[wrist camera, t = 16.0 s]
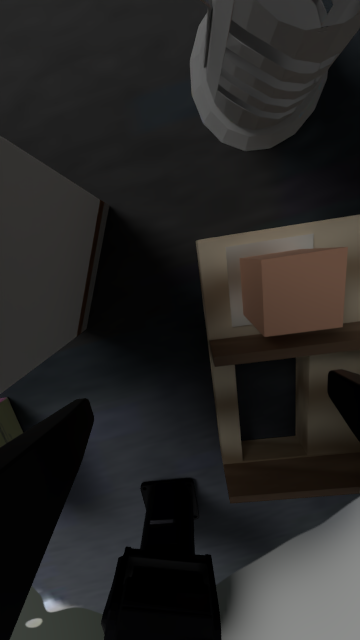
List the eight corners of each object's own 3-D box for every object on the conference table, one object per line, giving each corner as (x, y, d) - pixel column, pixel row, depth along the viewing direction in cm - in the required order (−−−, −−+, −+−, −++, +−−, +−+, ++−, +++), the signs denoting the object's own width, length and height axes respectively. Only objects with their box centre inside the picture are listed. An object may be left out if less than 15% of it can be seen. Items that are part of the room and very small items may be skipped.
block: (300, 249, 16) (347, 246, 11) (299, 307, 18) (342, 327, 13) (239, 258, 17) (261, 259, 12) (243, 314, 18) (264, 337, 13)
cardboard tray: (383, 434, 24) (441, 487, 19) (220, 449, 25) (230, 503, 20) (416, 207, 18) (519, 186, 12) (195, 242, 19) (199, 236, 13)
